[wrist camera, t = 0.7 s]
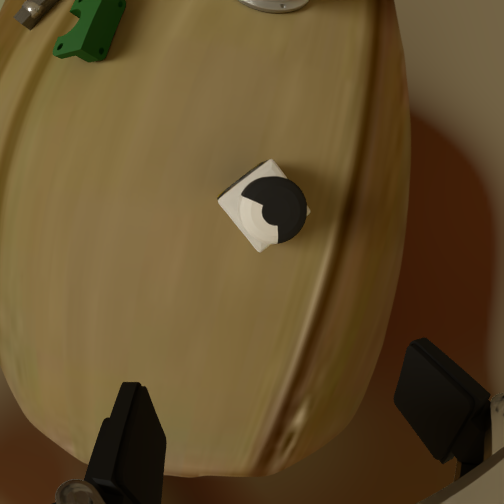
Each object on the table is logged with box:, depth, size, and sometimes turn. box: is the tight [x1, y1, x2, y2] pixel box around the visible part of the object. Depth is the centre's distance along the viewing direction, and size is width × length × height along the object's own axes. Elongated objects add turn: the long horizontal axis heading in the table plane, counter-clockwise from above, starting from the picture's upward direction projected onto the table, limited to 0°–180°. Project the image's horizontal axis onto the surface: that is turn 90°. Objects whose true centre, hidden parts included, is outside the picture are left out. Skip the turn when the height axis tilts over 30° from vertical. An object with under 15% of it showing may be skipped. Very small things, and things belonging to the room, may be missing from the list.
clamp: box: [53, 0, 126, 62], centre depth 24 cm, size 12×6×9 cm, turn 164°
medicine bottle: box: [218, 159, 311, 252], centre depth 30 cm, size 7×7×12 cm
